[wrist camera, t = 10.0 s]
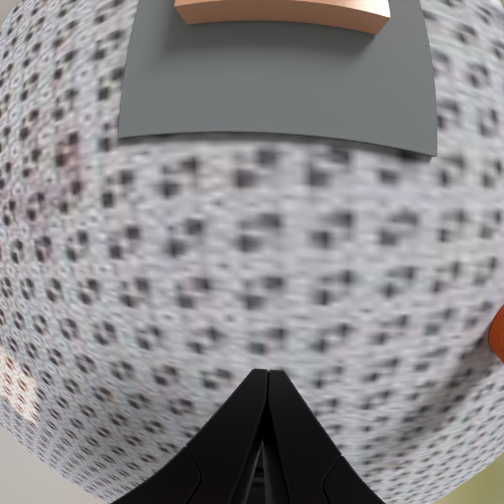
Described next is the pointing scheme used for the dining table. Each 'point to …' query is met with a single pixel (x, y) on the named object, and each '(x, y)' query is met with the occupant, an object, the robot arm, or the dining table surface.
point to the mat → (281, 79)
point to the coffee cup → (497, 334)
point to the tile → (290, 12)
